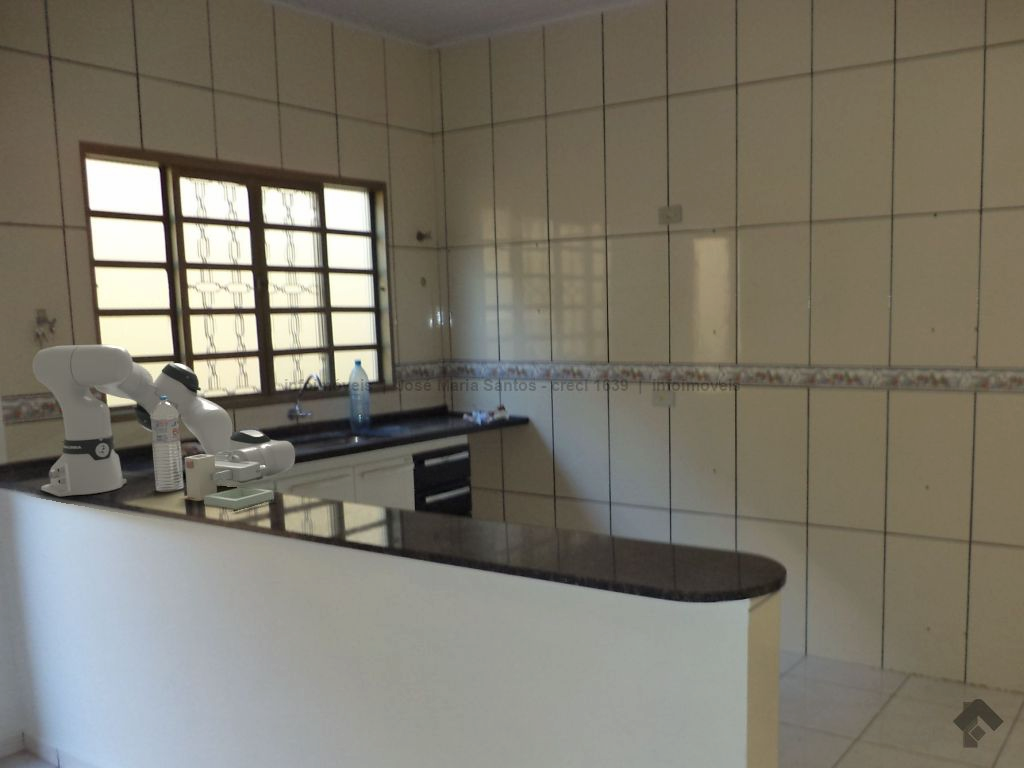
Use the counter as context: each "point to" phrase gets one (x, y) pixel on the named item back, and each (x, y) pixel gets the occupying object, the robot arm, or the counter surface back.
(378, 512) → the counter surface
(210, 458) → the sleeve
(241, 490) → the tray
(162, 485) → the water bottle
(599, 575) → the counter surface
